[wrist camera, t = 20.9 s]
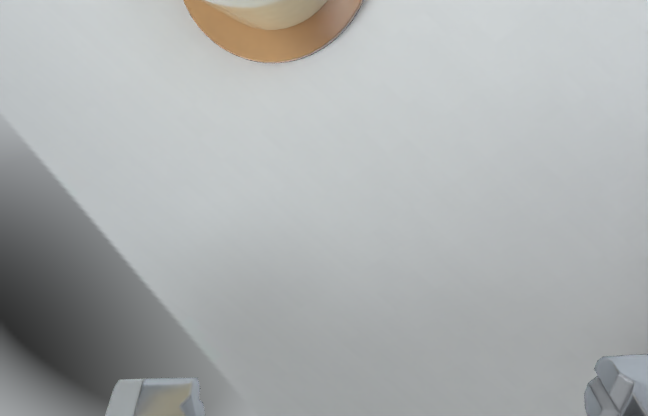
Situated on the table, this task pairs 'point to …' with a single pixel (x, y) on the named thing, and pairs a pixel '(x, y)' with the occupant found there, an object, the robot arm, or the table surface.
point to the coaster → (275, 32)
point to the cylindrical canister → (267, 11)
